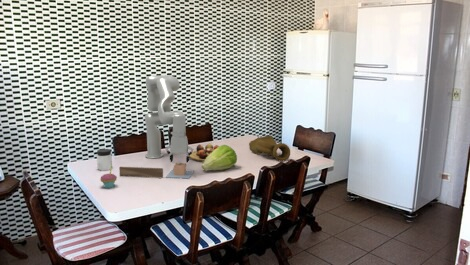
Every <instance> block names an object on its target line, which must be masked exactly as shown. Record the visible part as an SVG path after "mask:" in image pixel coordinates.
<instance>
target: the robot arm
mask: <svg viewBox="0 0 470 265" xmlns="http://www.w3.org/2000/svg"><path fill="white" fill-rule="evenodd" d="M145 86H146V88H147V109H148V110H149V112H148V113H146V114H145V115H144V121H145V123H144V124H145V126H146V129H145V130H146V143H147V144H146V146H147V148H146V149H147V153H146V154H145V155H144V156H145V158H147V159H160V158H163V157H164V153H162V141H161V138H162V134H161V130H160V129H159V128H158V127H159V126H167V125H172V131H171V132H170V135H172V136H171V139H170V145H168V146H166V147H165V148H164V149H165V151H166V153H167V154H168V155H169V161H170V163H173V161H174V155H173V154H177V155H179V154H180V155H181V154H183V155H186V158H185V161H186V162H185V163H186V164H188V163H189V162H190V158H189V156H190V155H191V154H192V152H193V151H195V149H194V147H191V146H189V143H188V142H189V141H188V137H187V135H186V133H187V132H186V131H187V130H186V126H187V124H186V114H184V113H183V112H182V111H177V110H176V111H175V110H174V111H172V104H171V103H173V102H174V101H175V98H176V97H175V94H174V91H178V90H179V89H180V87H181V86H180V81H179V79H178V78H177V77H175V76H172V75H168V74H167V75H148V76H147V77H146V78H145ZM169 149H170V150H169ZM189 150H190V151H189Z"/></svg>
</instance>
